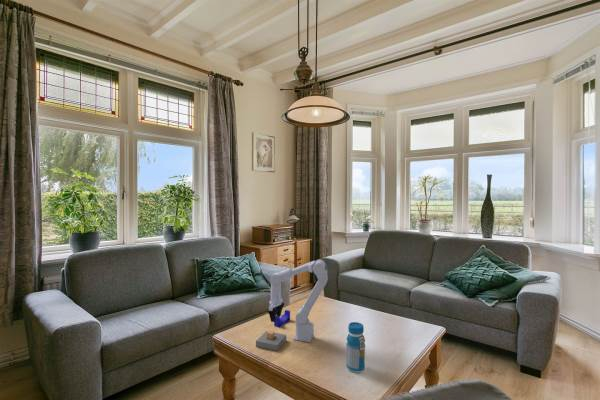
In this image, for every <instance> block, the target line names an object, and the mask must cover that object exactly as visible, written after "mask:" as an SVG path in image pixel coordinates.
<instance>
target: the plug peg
mask: <svg viewBox="0 0 600 400" xmlns="http://www.w3.org/2000/svg"><path fill="white" fill-rule="evenodd" d="M274 333H275V330H268V332H267V339H269V340H274Z"/></svg>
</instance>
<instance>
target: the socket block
mask: <svg viewBox="0 0 600 400" xmlns="http://www.w3.org/2000/svg"><path fill="white" fill-rule="evenodd" d="M268 331H269V330H268ZM268 331H267V330H265V332H264V333H263V334H262V335H261V336H260V337H258V339H256V340H255V347H257V348H261V349H266V350H270V351H276V352H277V351H279V349H280V348H281V347H282V346H283V345H284V343H286V341H287V334H285V333H278V332H274V340H269V339H267V332H268Z"/></svg>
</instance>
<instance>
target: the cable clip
mask: <svg viewBox="0 0 600 400" xmlns="http://www.w3.org/2000/svg"><path fill="white" fill-rule="evenodd" d="M290 321H291V310H288V309H285V310H284V313H283V314H281V316H280V317H279V316H277V315H276V319H275V322H273V323H274V324H273V325H274V327H275V328H279V327H281V326H283V325H284V324H286V323H288V322H290Z"/></svg>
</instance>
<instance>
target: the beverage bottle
mask: <svg viewBox="0 0 600 400" xmlns="http://www.w3.org/2000/svg"><path fill="white" fill-rule="evenodd" d="M347 328H348V335H347V337H346V345H345V346H346V369H347V370H348V371H349V372H352V373H356V374H357V373H363V372H364V371H365V362H366V361H365V354H366V351H365V350H366V344H365V342H366V339H365V335H364V324H363V323H361V322H357V321H353V322H349V324H348V327H347Z"/></svg>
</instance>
